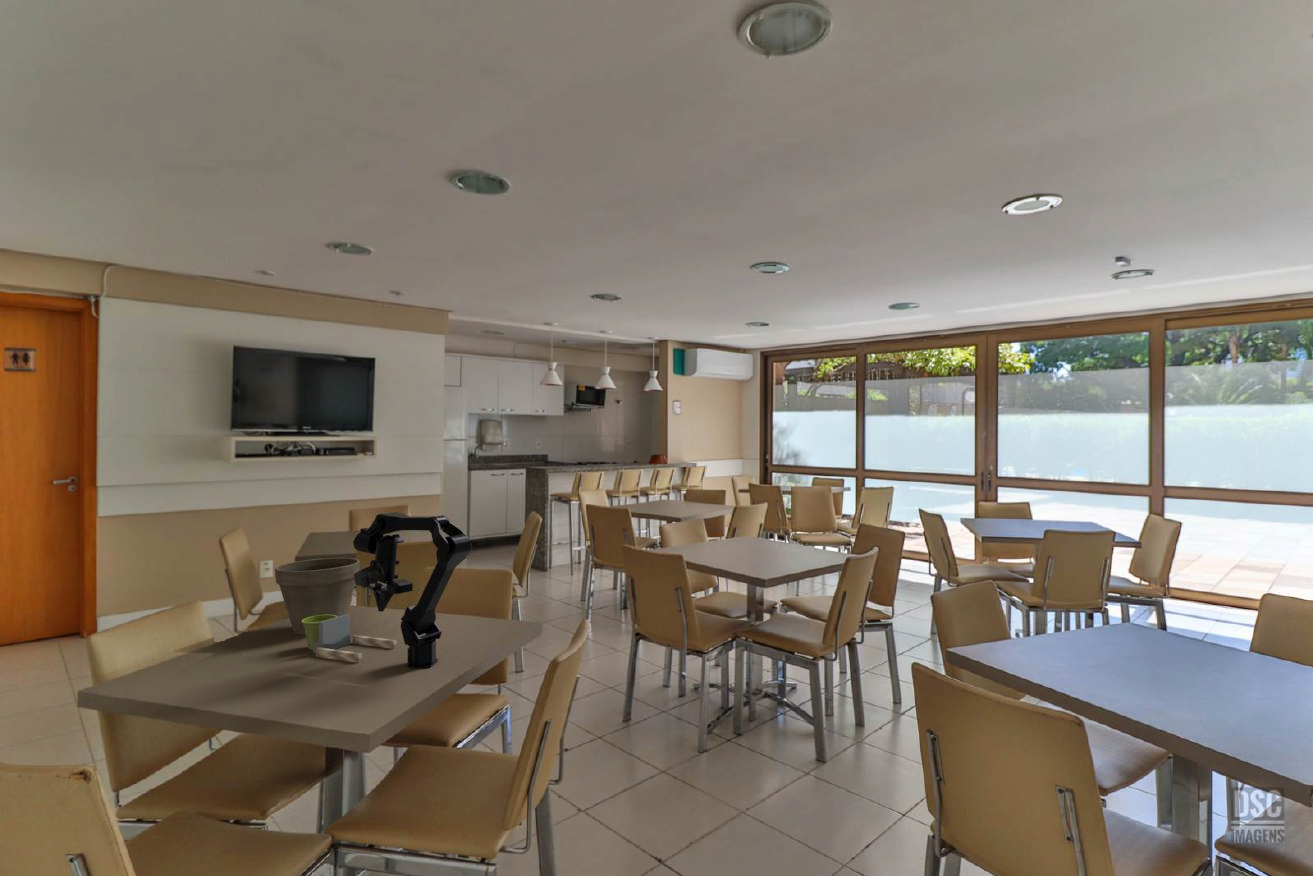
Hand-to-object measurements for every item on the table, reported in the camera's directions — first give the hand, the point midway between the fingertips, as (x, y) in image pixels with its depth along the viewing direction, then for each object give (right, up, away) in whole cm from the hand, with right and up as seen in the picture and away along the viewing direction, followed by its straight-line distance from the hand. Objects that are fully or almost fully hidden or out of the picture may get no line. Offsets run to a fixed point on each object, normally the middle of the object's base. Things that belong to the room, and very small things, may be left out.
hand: (380, 611), depth 187 cm
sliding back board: (-17, -13, +7) cm, 23 cm away
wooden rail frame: (-9, -13, +4) cm, 16 cm away
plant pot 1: (-33, -14, +29) cm, 46 cm away
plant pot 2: (-22, -14, +9) cm, 28 cm away
